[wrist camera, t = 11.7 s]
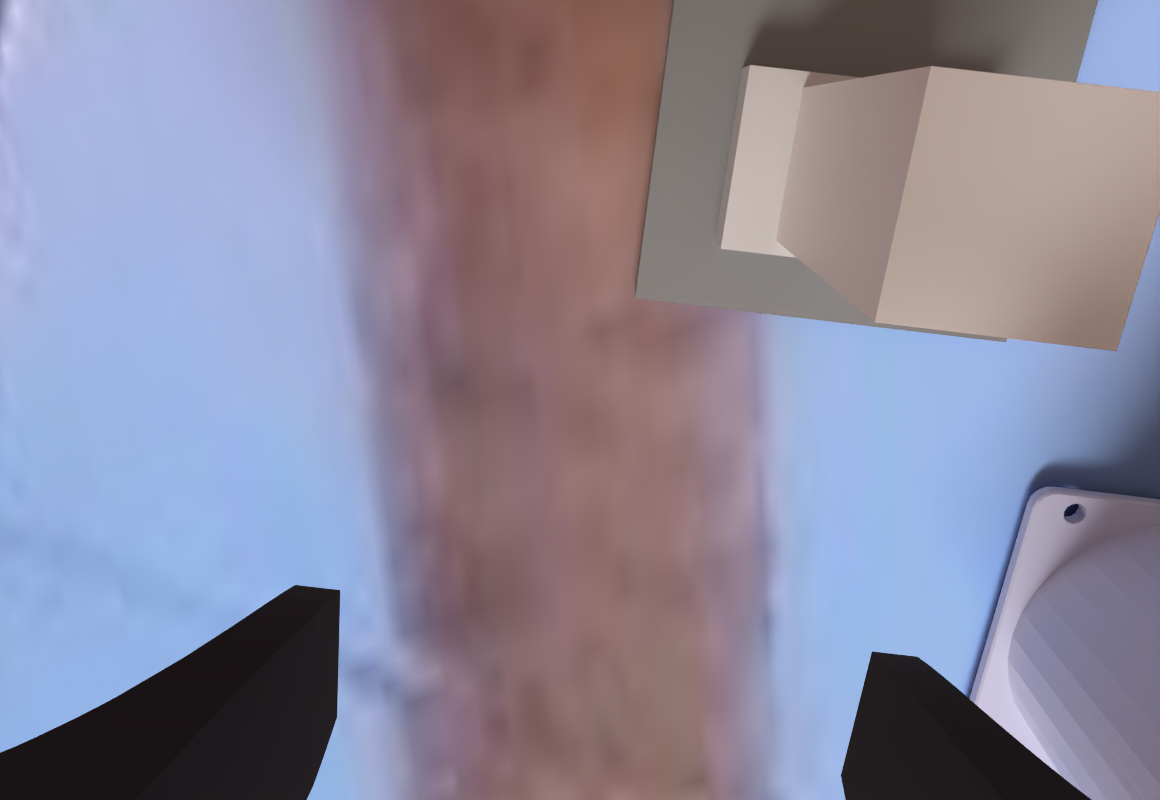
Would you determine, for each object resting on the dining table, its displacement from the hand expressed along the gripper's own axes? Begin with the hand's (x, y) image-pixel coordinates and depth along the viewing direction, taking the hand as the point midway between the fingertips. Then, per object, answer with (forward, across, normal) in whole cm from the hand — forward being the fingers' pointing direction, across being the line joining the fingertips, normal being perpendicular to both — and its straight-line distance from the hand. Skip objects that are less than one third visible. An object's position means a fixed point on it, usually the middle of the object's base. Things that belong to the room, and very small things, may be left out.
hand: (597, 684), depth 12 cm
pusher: (+10, -4, -7) cm, 12 cm away
